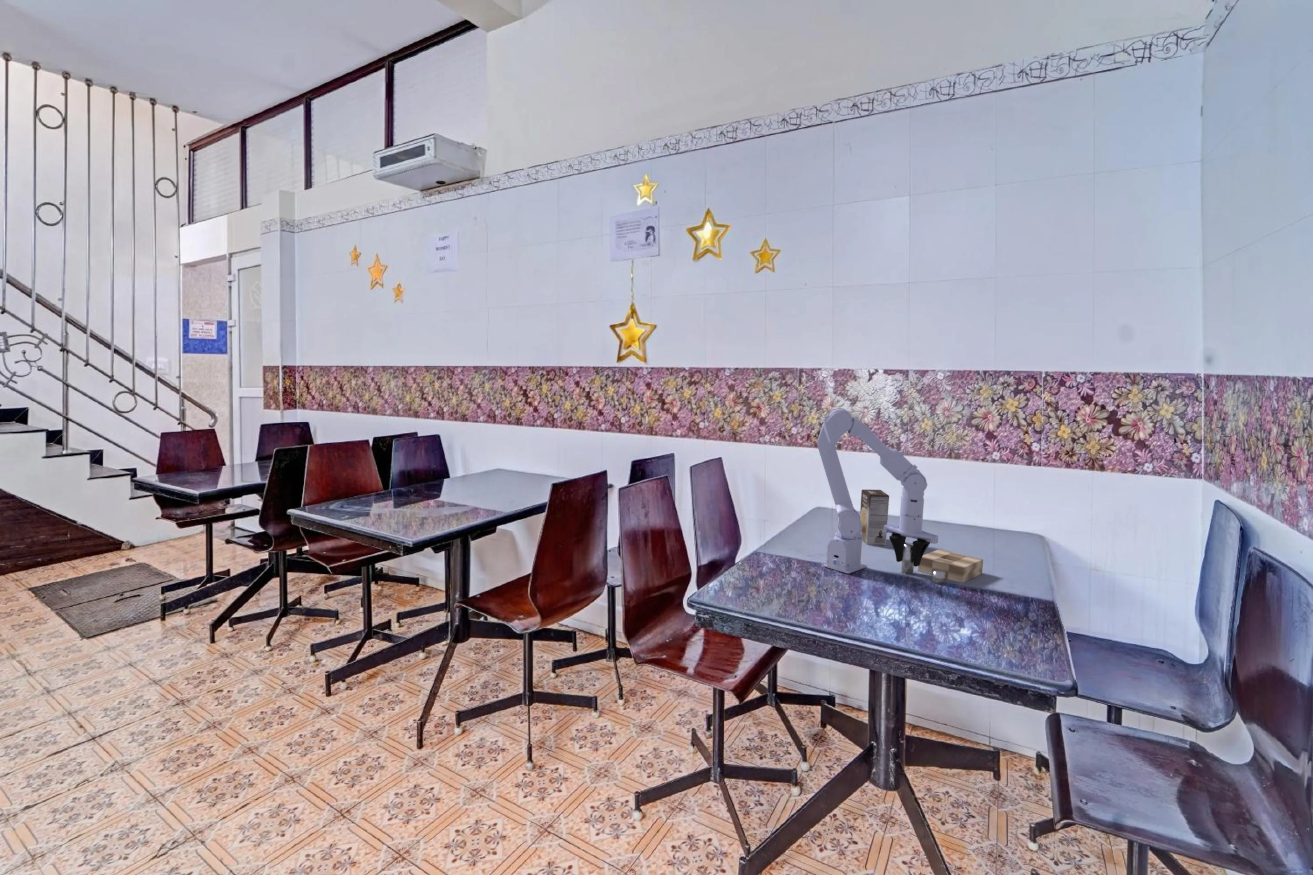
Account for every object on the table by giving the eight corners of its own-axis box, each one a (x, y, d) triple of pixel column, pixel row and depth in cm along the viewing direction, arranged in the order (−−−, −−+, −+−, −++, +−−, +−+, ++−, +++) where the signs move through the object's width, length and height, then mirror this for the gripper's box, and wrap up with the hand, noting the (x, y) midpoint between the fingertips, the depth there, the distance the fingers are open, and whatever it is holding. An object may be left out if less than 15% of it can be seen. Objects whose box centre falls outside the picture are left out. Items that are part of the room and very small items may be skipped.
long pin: (909, 575, 168) (911, 546, 167) (899, 572, 170) (901, 543, 169) (915, 573, 170) (917, 544, 169) (904, 570, 172) (906, 541, 171)
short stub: (941, 585, 161) (942, 574, 160) (929, 582, 163) (930, 571, 163) (946, 583, 163) (947, 572, 162) (935, 579, 165) (936, 568, 164)
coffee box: (857, 536, 206) (860, 488, 204) (877, 537, 206) (880, 489, 204) (866, 544, 197) (869, 494, 195) (887, 545, 196) (890, 495, 195)
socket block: (962, 582, 163) (963, 567, 162) (918, 570, 172) (919, 556, 172) (981, 573, 171) (983, 559, 170) (938, 562, 180) (939, 548, 179)
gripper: (945, 517, 165) (941, 567, 167) (893, 507, 176) (890, 554, 178) (932, 521, 161) (928, 572, 162) (880, 510, 172) (877, 558, 173)
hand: (907, 563), depth 170 cm, fingers open, 4 cm apart
